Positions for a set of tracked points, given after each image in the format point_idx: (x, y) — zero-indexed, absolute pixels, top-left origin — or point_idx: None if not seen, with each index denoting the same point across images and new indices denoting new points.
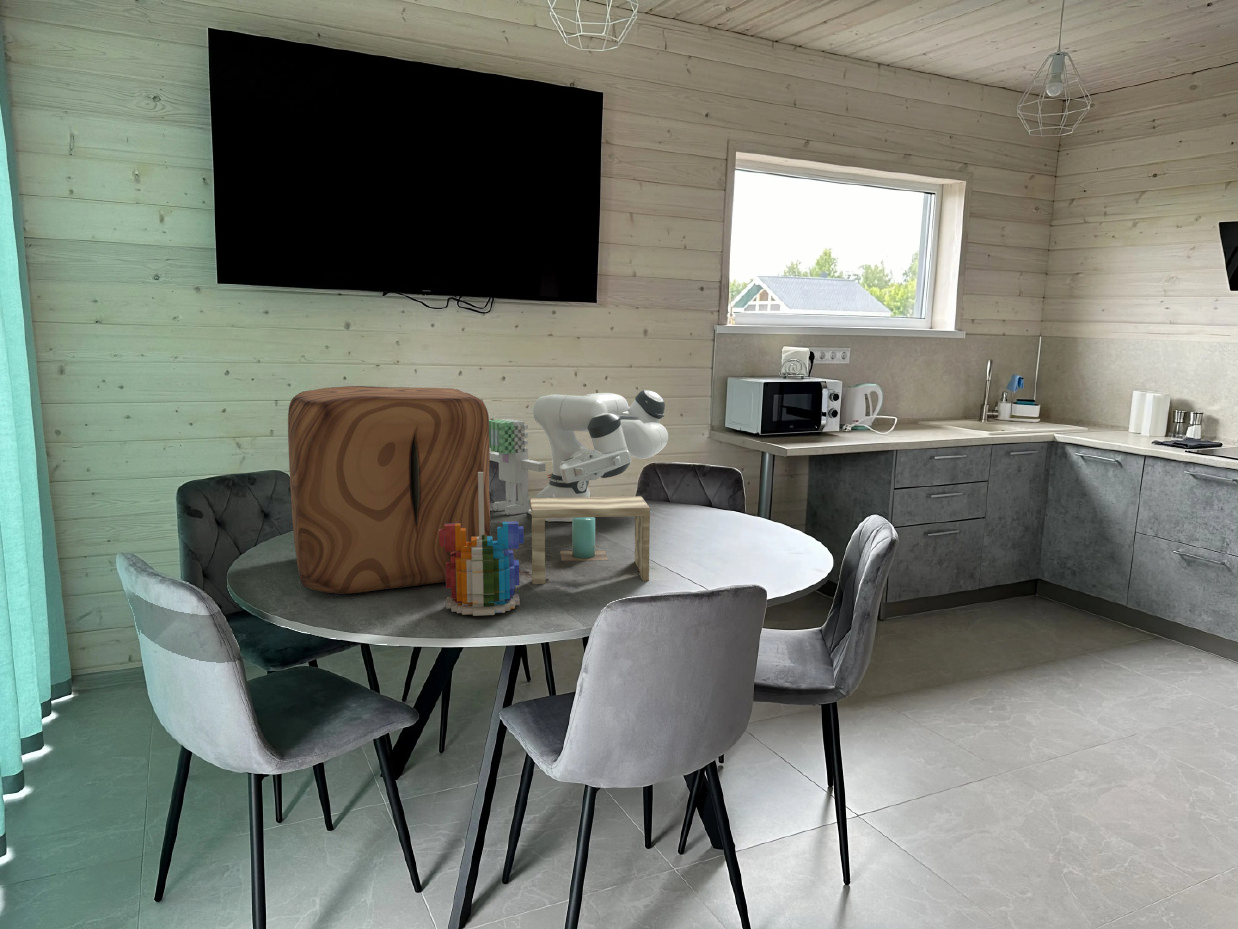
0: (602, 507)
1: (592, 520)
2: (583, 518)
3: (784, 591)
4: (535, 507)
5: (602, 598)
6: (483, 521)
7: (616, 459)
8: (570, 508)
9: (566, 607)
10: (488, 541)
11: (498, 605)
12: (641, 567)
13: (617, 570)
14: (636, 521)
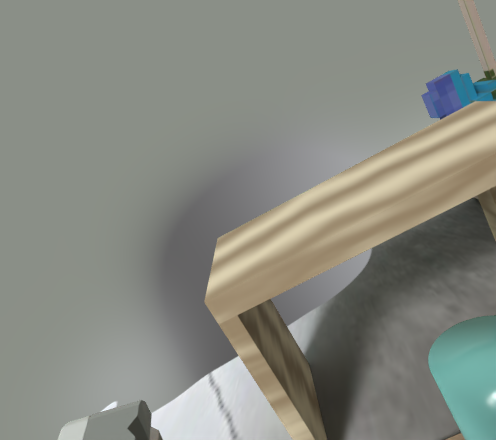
0: (317, 188)
1: (432, 347)
2: (485, 349)
3: (110, 404)
4: (482, 106)
5: (367, 275)
6: (477, 50)
7: (109, 414)
8: (389, 149)
9: (408, 235)
10: (473, 83)
11: None
12: (300, 358)
13: (375, 408)
14: (262, 337)
